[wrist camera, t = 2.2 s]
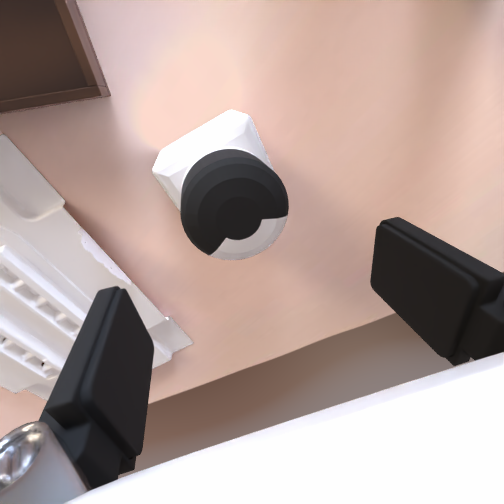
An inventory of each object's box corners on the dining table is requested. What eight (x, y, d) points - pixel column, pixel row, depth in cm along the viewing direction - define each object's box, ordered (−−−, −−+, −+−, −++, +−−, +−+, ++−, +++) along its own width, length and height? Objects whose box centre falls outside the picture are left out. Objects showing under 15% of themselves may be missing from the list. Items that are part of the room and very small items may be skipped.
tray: (60, 408, 35) (47, 438, 32) (-210, 248, 21) (-282, 273, 18) (195, 342, 35) (195, 366, 31) (10, 130, 20) (-23, 134, 17)
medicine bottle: (158, 150, 22) (137, 195, 12) (231, 107, 22) (272, 117, 12) (203, 217, 26) (215, 293, 16) (266, 181, 26) (319, 237, 16)
